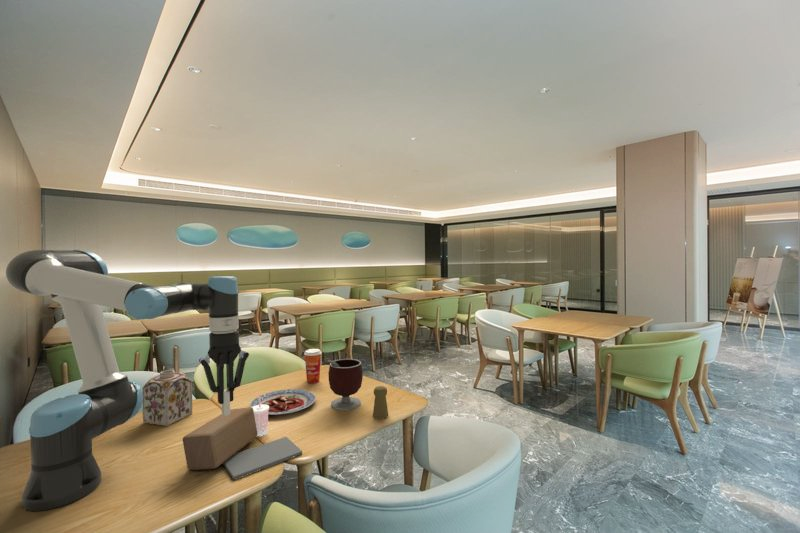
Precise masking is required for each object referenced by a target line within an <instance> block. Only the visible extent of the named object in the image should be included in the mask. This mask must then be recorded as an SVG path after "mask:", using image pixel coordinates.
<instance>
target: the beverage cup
mask: <svg viewBox="0 0 800 533" xmlns="http://www.w3.org/2000/svg"><path fill="white" fill-rule="evenodd" d="M260 396H261V392H259V393H258V397H259V405H256V406H253V407H252V408H253V411H254V416H255V422H256V427H257V433H258V434H257V436H260V437H264V436H266V435H267V434H268V428H269V427H268V426H269V425H268V424H269V415H268V410H269V405H266V404H261V402H260ZM263 435H264V436H263Z"/></svg>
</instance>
